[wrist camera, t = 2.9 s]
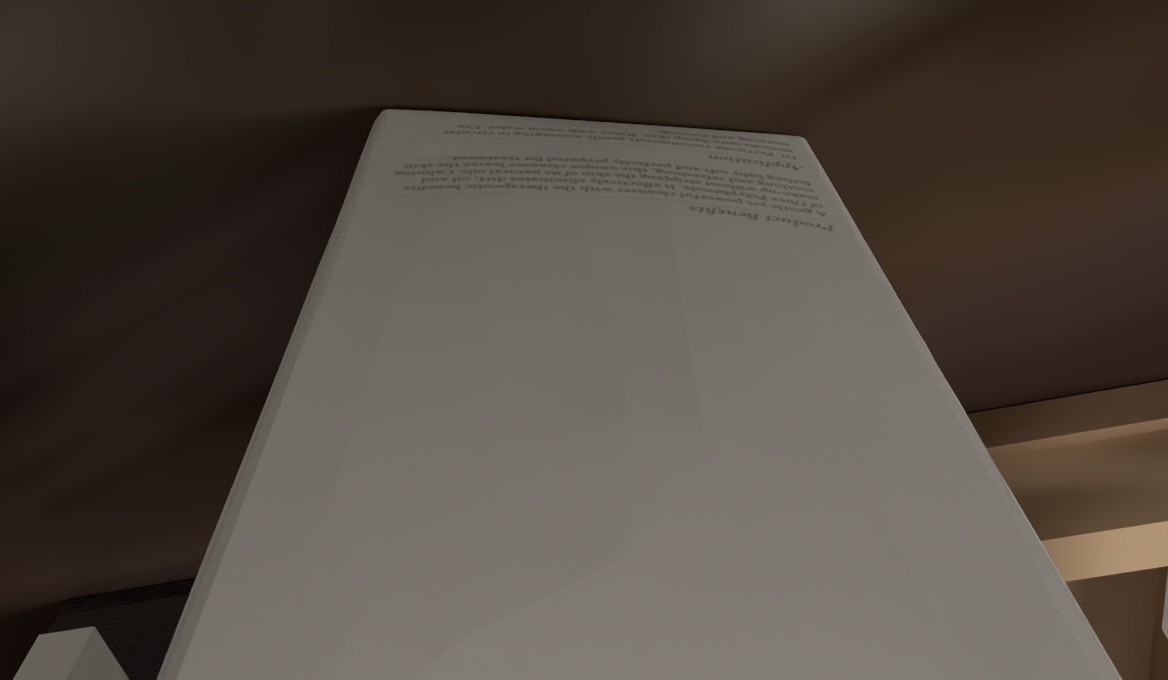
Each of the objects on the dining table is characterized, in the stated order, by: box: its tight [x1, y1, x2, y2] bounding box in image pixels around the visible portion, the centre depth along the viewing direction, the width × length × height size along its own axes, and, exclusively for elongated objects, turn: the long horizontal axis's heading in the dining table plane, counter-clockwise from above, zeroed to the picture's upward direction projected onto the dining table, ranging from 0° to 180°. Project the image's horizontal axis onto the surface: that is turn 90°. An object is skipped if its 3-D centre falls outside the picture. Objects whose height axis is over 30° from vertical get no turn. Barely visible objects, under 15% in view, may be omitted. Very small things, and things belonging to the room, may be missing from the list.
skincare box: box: [157, 109, 1122, 680], centre depth 14 cm, size 8×7×16 cm
